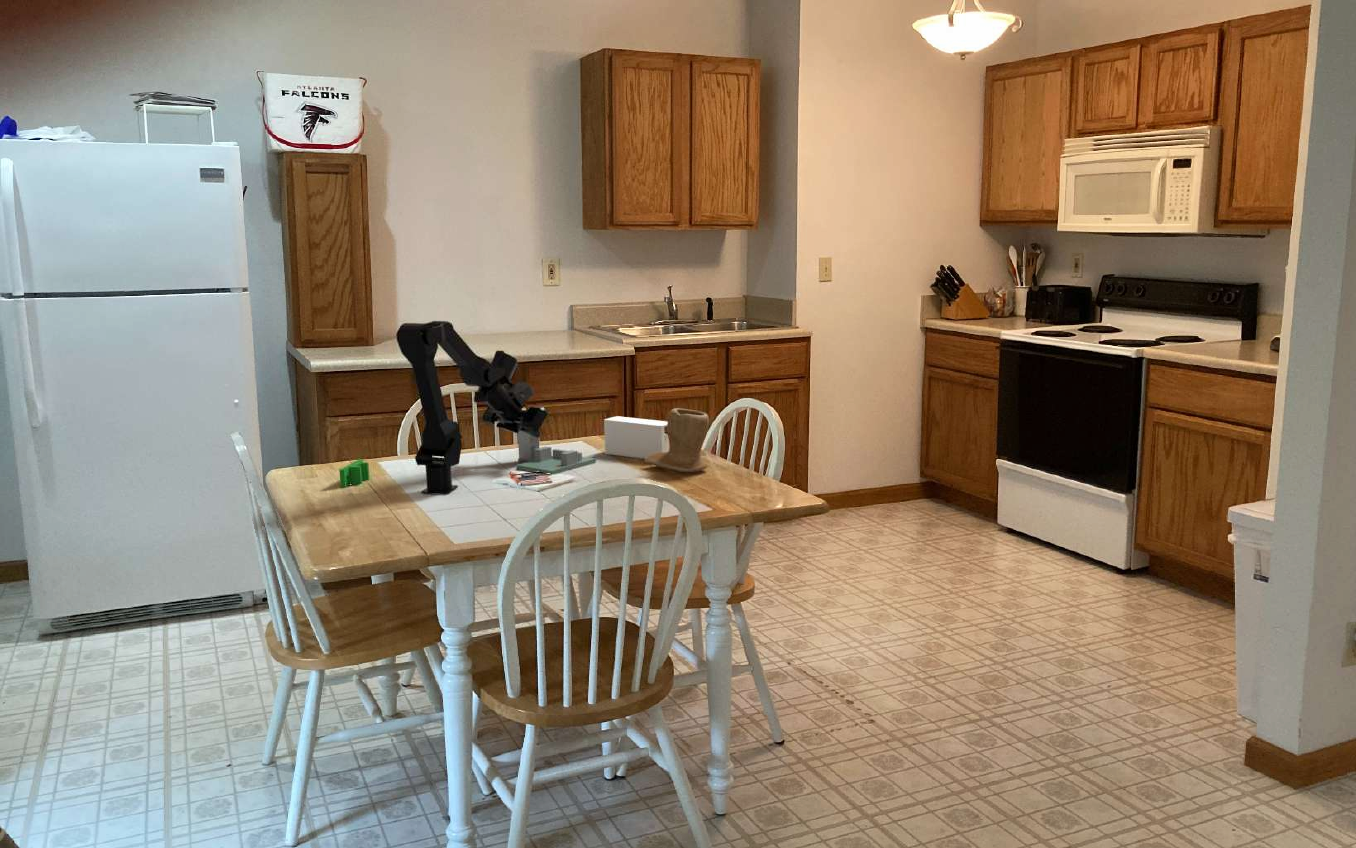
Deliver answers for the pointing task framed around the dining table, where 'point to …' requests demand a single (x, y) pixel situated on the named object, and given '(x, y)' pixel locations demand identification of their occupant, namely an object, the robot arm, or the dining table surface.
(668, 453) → the fuzzy boot
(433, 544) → the dining table surface
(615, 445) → the white rectangular box
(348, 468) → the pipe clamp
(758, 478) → the dining table surface
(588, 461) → the socket plate
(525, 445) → the bar
